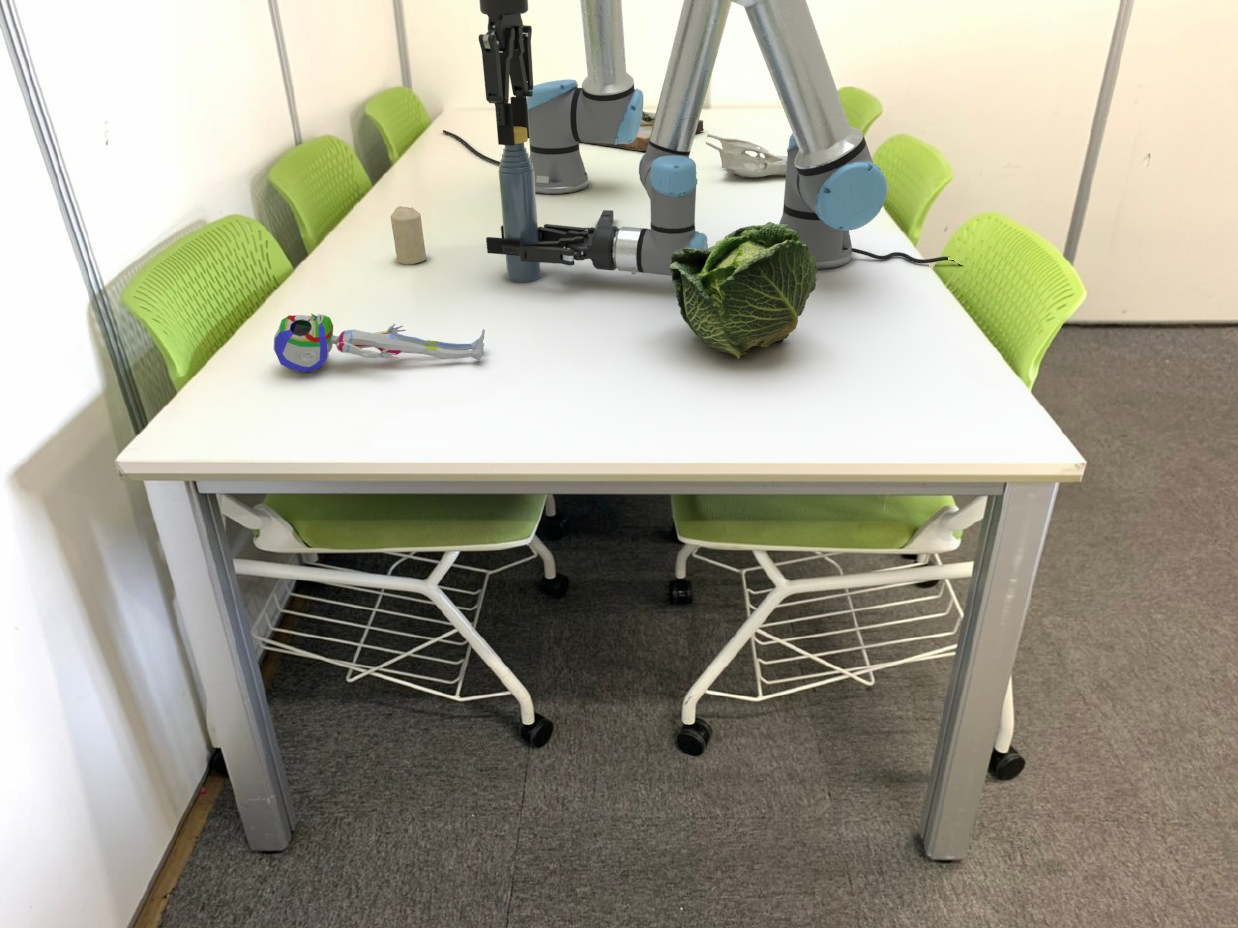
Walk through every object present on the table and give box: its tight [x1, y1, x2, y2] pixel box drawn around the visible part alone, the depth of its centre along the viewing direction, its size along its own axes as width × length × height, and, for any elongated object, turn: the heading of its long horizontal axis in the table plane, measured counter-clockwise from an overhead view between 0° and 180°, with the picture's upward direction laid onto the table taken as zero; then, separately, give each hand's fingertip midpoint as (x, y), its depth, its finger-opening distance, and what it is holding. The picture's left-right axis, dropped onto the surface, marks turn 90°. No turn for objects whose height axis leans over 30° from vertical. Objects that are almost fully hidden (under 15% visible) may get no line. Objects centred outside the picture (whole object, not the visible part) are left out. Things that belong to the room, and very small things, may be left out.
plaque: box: [584, 110, 705, 152], centre depth 257 cm, size 30×7×30 cm
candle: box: [390, 205, 427, 265], centre depth 169 cm, size 6×6×10 cm
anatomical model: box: [705, 133, 788, 178], centre depth 218 cm, size 15×9×25 cm
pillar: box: [594, 209, 615, 229], centre depth 182 cm, size 2×2×20 cm
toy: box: [273, 313, 486, 373], centre depth 132 cm, size 10×8×30 cm
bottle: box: [498, 142, 542, 283], centre depth 157 cm, size 6×6×25 cm
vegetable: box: [669, 221, 818, 360], centre depth 133 cm, size 20×19×20 cm
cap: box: [514, 126, 529, 144], centre depth 151 cm, size 5×5×2 cm
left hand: (514, 141), depth 151 cm, fingers closed on cap, 4 cm apart
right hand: (495, 239), depth 162 cm, fingers closed on bottle, 6 cm apart
